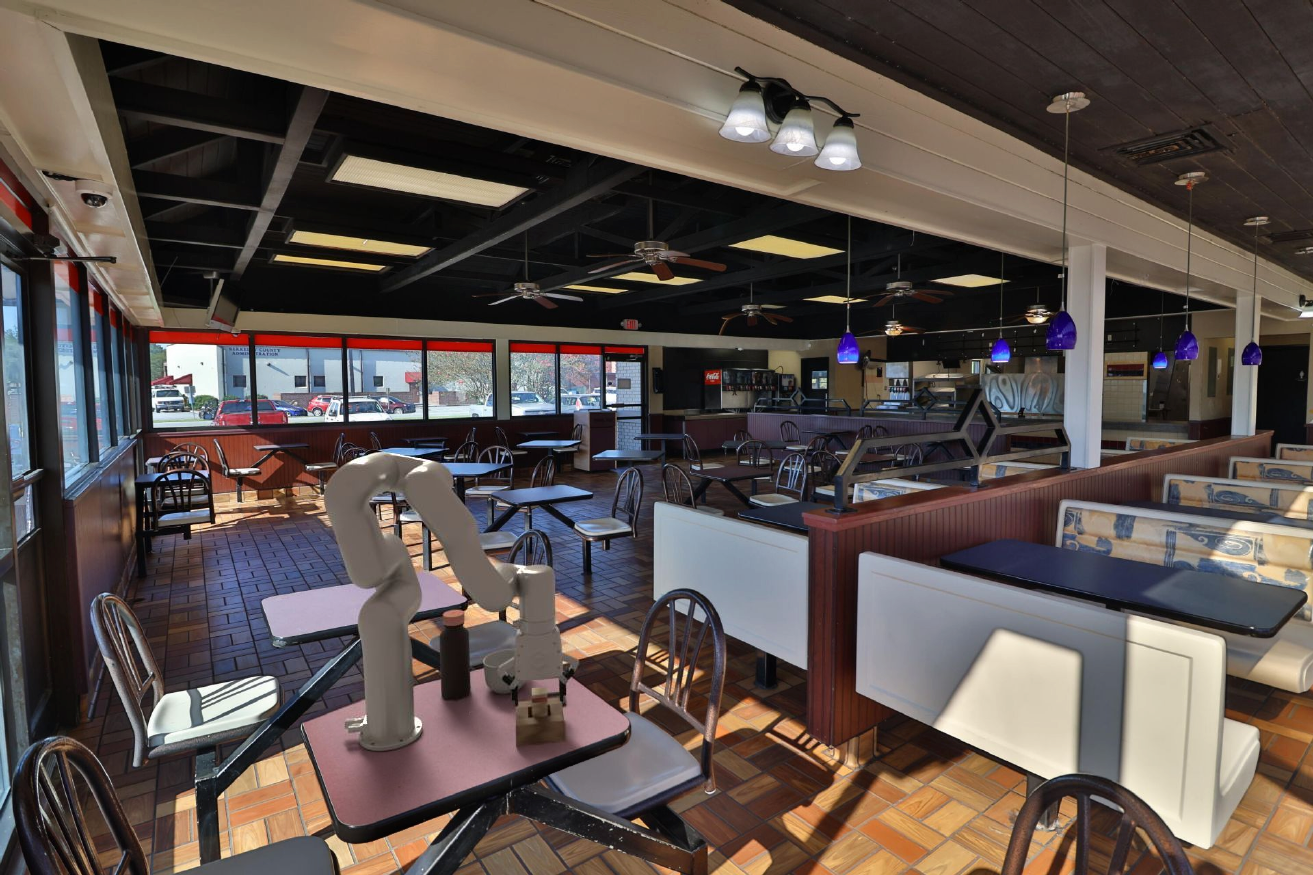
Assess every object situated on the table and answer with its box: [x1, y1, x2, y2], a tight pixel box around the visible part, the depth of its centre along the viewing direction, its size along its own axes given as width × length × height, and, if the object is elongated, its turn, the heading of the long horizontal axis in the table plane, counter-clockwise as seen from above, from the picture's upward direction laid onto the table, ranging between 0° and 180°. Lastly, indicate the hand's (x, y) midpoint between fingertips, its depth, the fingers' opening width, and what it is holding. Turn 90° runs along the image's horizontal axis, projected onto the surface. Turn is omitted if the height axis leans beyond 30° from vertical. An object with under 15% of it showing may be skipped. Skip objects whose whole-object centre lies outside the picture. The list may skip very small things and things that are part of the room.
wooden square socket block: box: [515, 697, 566, 747], centre depth 142 cm, size 10×10×4 cm
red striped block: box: [531, 686, 548, 718], centre depth 142 cm, size 3×3×9 cm
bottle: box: [438, 609, 472, 701], centre depth 158 cm, size 7×7×20 cm
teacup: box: [482, 648, 527, 695], centre depth 163 cm, size 14×11×8 cm
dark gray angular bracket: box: [547, 691, 566, 707], centre depth 155 cm, size 8×6×1 cm
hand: (539, 701), depth 142 cm, fingers open, 9 cm apart
